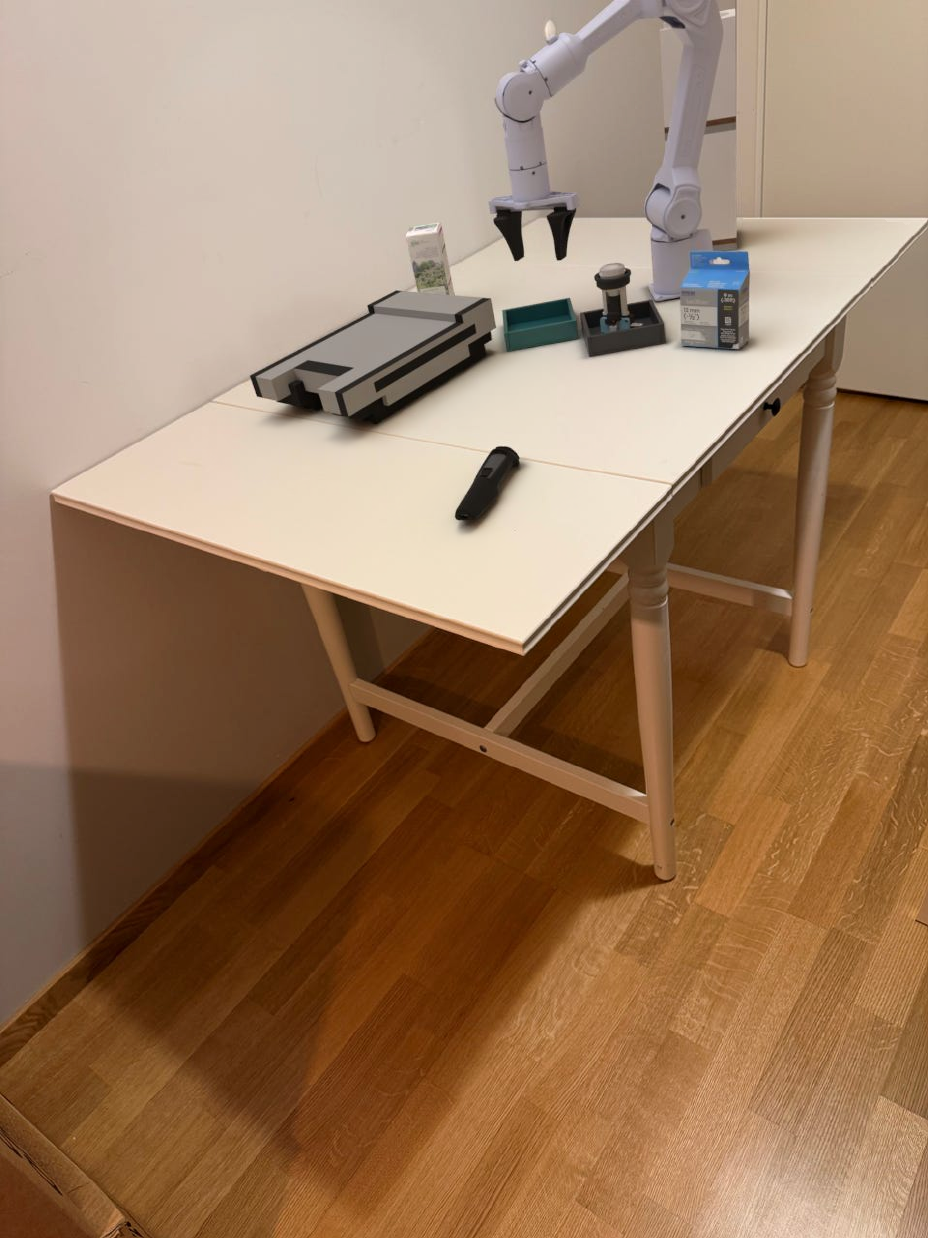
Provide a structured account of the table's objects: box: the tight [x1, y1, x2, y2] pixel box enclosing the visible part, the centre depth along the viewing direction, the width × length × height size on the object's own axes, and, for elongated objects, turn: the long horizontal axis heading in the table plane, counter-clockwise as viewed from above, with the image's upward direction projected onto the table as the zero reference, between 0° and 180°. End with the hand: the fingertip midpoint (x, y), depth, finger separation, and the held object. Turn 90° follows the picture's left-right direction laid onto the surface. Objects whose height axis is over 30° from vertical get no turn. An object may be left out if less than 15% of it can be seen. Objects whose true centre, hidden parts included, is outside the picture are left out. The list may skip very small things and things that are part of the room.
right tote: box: [579, 299, 666, 357], centre depth 136 cm, size 11×11×3 cm
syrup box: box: [405, 222, 456, 295], centre depth 159 cm, size 6×6×14 cm
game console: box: [249, 290, 497, 425], centre depth 138 cm, size 21×32×8 cm, turn 139°
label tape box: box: [679, 250, 751, 350], centre depth 125 cm, size 9×4×12 cm, turn 53°
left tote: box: [501, 297, 579, 352], centre depth 144 cm, size 11×11×3 cm
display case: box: [659, 8, 738, 251], centre depth 155 cm, size 11×11×35 cm
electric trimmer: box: [454, 445, 521, 522], centre depth 105 cm, size 4×16×3 cm, turn 159°
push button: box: [593, 262, 643, 334], centre depth 134 cm, size 7×5×10 cm
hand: (540, 258), depth 142 cm, fingers open, 7 cm apart
